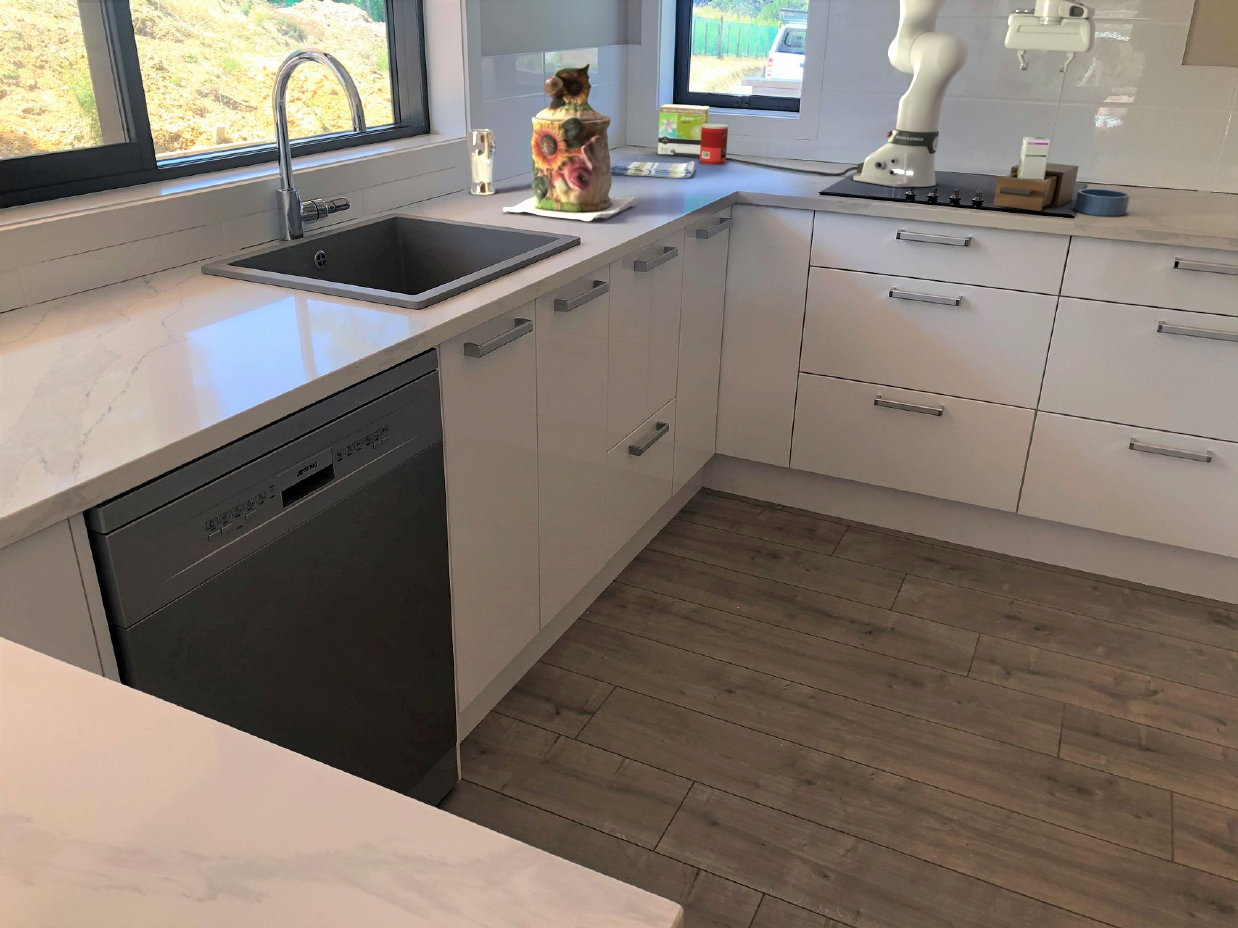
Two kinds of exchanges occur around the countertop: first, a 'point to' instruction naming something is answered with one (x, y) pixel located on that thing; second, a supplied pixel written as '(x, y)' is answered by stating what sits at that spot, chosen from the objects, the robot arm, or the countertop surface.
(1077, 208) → the bowl
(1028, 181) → the drawer
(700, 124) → the tea box
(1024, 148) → the syrup box
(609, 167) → the cookie jar
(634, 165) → the dish towel
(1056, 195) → the cabinet
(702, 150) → the canned food
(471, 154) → the beer glass
